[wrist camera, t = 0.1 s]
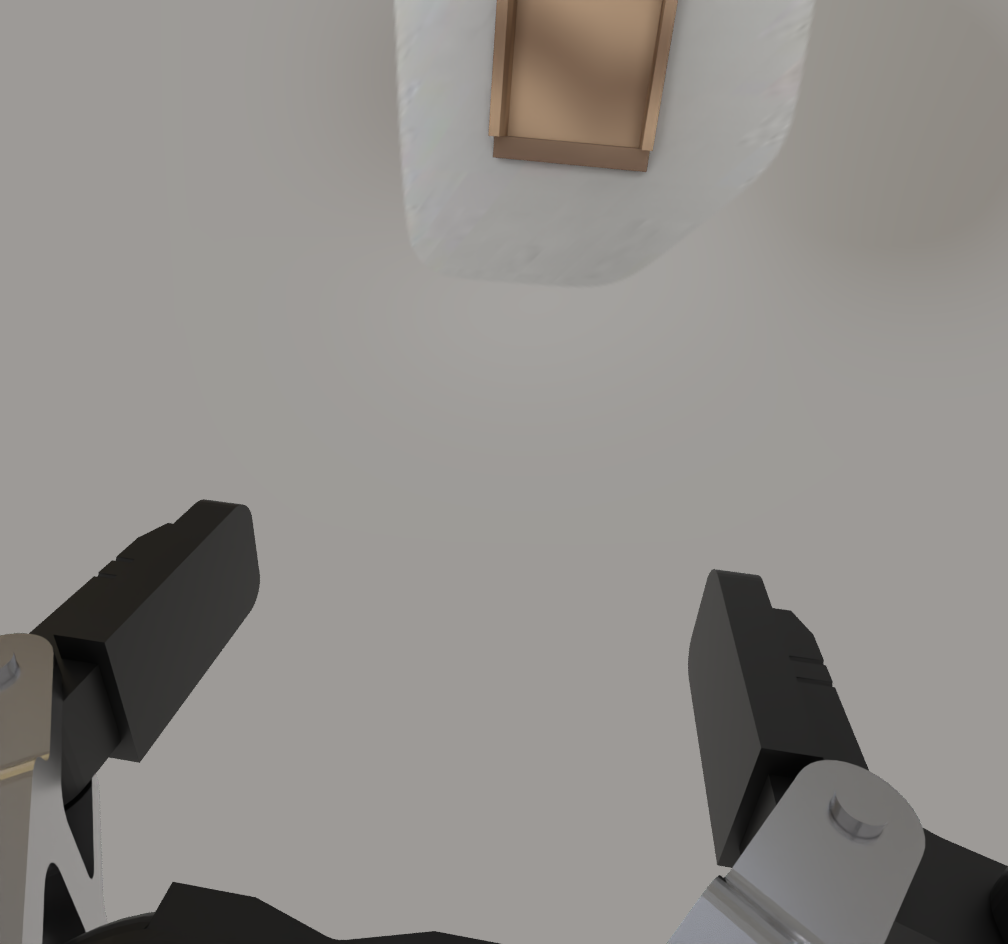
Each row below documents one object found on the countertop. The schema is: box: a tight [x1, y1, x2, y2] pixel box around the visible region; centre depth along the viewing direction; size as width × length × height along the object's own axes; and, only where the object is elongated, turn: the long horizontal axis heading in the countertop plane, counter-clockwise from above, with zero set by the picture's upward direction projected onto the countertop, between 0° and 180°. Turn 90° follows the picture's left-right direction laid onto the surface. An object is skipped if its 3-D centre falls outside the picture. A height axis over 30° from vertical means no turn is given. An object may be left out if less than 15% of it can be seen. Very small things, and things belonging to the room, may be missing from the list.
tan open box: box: [489, 0, 678, 172], centre depth 31 cm, size 9×8×4 cm
